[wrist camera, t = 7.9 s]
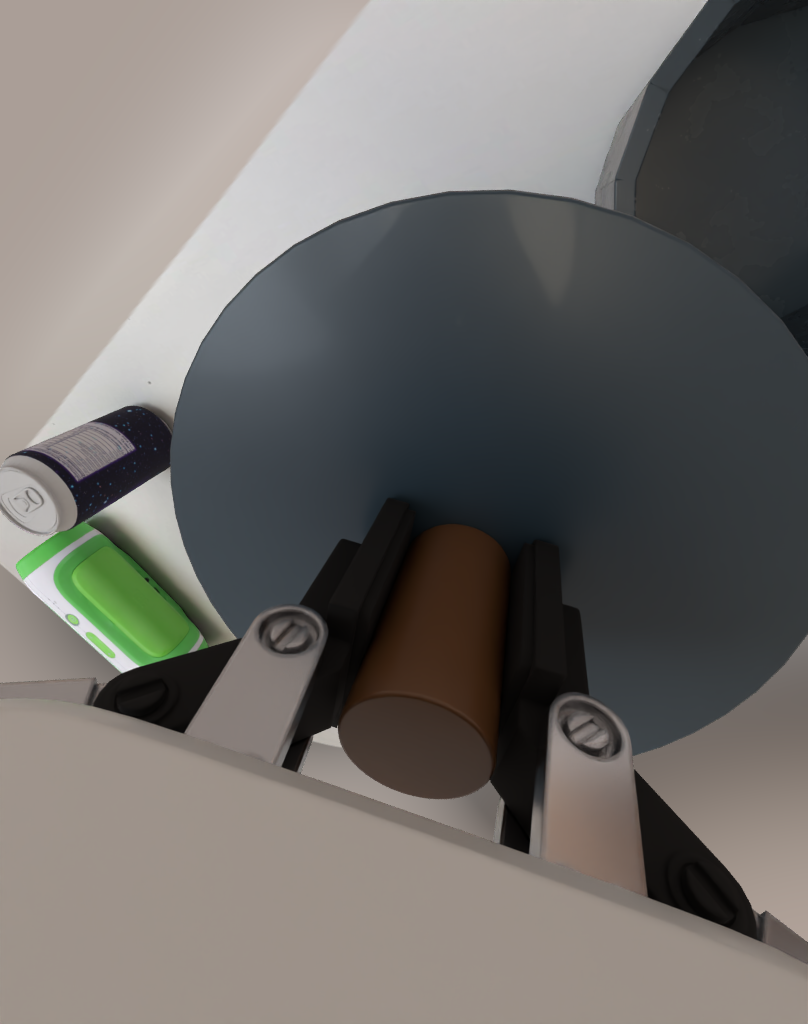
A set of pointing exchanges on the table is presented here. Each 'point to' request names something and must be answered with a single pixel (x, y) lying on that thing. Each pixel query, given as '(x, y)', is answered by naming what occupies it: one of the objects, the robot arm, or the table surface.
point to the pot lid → (506, 463)
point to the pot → (727, 149)
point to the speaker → (108, 599)
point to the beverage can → (83, 470)
